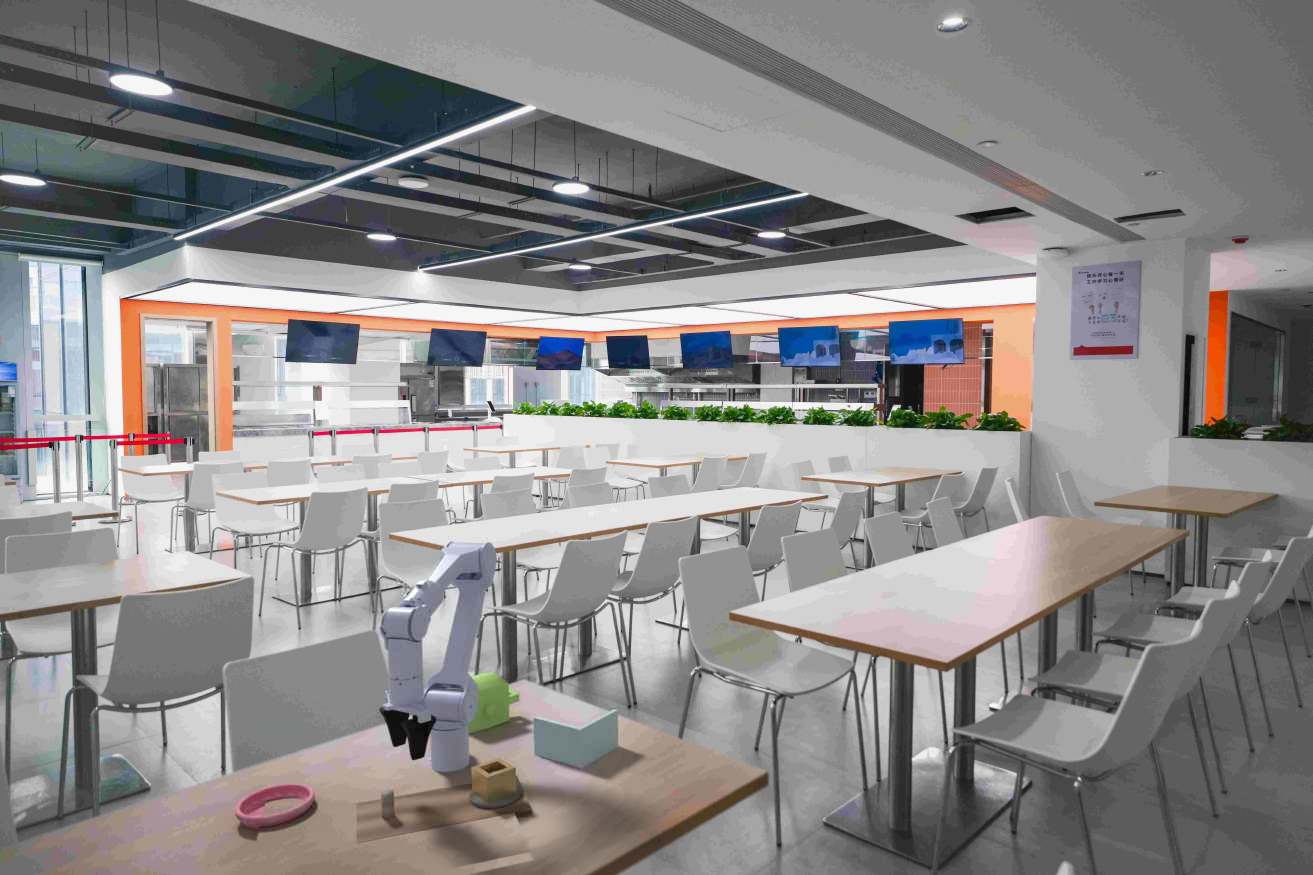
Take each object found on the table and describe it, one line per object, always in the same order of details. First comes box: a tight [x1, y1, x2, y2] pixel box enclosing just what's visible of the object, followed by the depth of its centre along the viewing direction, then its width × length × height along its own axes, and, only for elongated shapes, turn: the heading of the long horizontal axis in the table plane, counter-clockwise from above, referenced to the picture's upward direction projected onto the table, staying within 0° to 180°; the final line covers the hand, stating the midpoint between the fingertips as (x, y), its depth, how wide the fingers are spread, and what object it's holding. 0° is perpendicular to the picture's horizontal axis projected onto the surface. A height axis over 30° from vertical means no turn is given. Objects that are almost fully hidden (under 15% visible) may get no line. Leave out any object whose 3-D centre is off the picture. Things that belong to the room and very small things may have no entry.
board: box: [356, 771, 533, 844], centre depth 139 cm, size 14×28×5 cm, turn 110°
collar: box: [471, 757, 517, 803], centre depth 142 cm, size 6×6×4 cm
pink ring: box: [234, 782, 316, 831], centre depth 139 cm, size 12×12×3 cm
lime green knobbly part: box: [449, 671, 520, 735], centre depth 178 cm, size 18×10×10 cm, turn 130°
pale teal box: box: [533, 709, 619, 769], centre depth 164 cm, size 12×12×8 cm
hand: (408, 751), depth 142 cm, fingers open, 7 cm apart
